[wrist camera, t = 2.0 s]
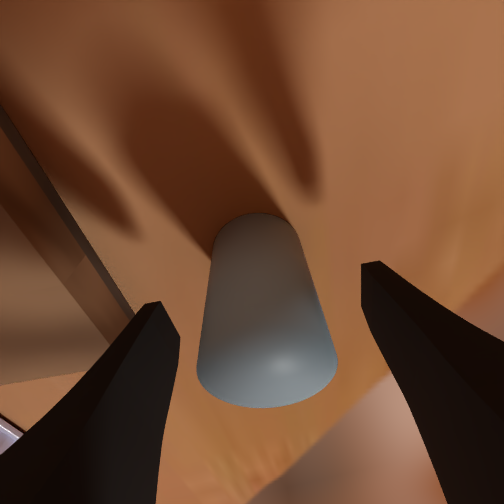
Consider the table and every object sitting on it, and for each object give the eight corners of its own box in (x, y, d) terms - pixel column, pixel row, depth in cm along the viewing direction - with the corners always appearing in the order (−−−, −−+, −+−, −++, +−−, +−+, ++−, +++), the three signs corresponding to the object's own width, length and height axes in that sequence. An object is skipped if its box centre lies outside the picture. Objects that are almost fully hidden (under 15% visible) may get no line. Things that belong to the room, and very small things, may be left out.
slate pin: (305, 277, 14) (340, 397, 9) (225, 292, 14) (219, 415, 10) (294, 204, 12) (333, 310, 7) (201, 223, 12) (175, 338, 7)
